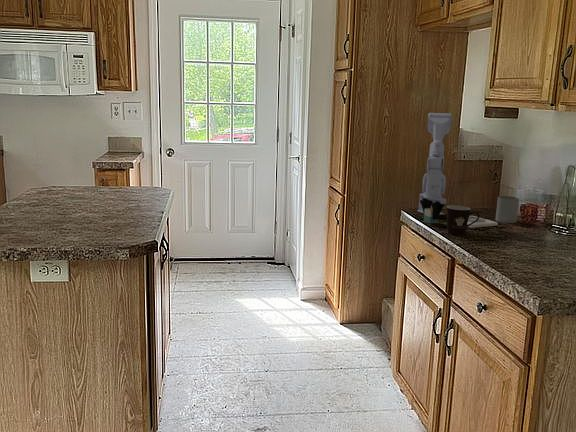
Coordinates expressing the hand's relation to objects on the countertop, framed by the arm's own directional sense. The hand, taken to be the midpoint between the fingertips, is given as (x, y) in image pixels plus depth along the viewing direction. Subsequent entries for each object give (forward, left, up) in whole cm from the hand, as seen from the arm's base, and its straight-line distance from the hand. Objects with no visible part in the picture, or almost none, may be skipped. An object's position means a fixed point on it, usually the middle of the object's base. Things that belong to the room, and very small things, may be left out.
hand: (430, 218), depth 233 cm
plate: (+7, +16, -2) cm, 18 cm away
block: (0, 0, -2) cm, 2 cm away
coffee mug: (+21, -3, -2) cm, 21 cm away
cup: (+8, +34, -2) cm, 35 cm away
